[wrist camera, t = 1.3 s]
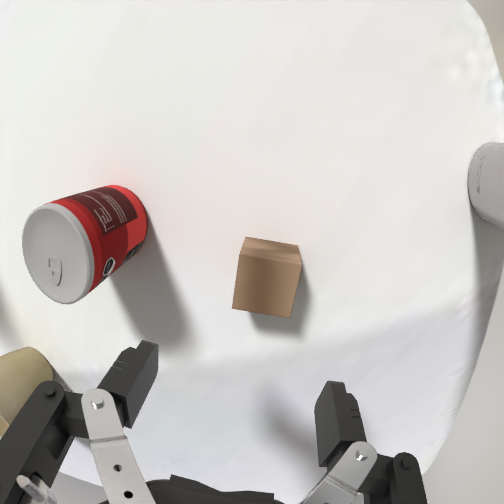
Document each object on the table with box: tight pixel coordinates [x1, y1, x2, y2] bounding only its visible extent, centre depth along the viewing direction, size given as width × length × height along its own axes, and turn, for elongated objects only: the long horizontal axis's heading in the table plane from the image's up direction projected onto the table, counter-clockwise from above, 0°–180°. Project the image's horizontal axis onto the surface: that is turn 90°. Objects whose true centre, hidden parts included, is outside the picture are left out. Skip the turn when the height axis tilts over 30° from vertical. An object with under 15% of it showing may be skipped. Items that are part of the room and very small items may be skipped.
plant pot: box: [0, 347, 54, 438], centre depth 30 cm, size 15×15×16 cm
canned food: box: [22, 185, 147, 304], centre depth 23 cm, size 8×8×11 cm
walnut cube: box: [232, 237, 302, 318], centre depth 26 cm, size 5×5×5 cm
